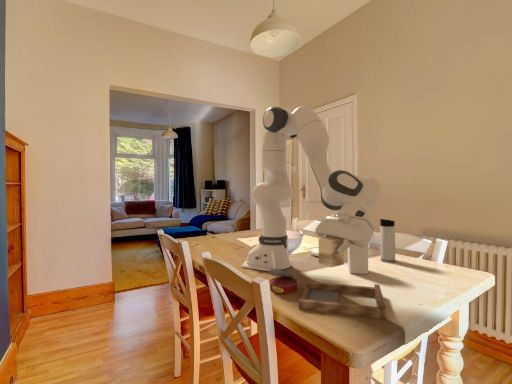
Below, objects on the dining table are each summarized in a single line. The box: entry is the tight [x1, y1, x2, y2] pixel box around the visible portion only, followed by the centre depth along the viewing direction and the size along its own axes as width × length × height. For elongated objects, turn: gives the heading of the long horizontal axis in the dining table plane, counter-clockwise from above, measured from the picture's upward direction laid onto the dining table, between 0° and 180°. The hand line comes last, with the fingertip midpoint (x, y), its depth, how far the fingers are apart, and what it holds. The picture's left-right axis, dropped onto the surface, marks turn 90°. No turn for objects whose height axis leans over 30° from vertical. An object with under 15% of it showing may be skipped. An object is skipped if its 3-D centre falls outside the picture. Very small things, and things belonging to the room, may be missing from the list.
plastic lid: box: [310, 247, 319, 257], centre depth 146 cm, size 14×14×2 cm
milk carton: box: [347, 244, 369, 275], centre depth 117 cm, size 7×7×19 cm
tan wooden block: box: [318, 237, 345, 268], centre depth 88 cm, size 6×6×8 cm
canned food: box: [268, 269, 298, 295], centre depth 100 cm, size 11×10×10 cm
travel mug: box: [379, 218, 396, 263], centre depth 131 cm, size 6×7×20 cm
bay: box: [298, 281, 387, 320], centre depth 88 cm, size 24×17×4 cm
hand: (329, 250), depth 88 cm, fingers closed on tan wooden block, 5 cm apart
